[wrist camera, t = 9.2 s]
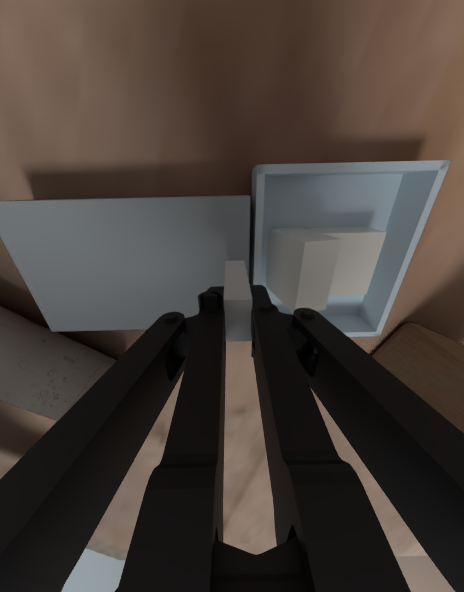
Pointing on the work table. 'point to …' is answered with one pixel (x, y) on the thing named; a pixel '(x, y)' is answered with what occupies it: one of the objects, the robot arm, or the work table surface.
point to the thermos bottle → (44, 367)
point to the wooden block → (428, 368)
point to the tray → (347, 223)
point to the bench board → (123, 255)
